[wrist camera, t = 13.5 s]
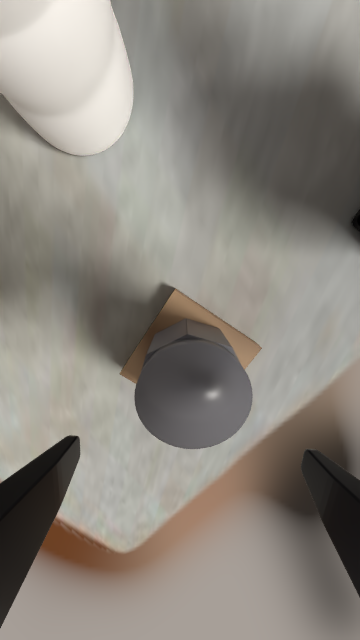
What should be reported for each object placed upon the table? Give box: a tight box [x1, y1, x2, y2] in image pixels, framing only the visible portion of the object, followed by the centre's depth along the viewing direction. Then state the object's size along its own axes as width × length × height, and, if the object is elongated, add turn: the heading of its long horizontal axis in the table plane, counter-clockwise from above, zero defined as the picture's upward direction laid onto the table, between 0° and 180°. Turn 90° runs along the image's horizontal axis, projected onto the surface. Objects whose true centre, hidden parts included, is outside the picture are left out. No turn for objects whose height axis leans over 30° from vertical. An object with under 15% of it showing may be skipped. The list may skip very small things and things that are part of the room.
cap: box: [135, 318, 252, 449], centre depth 14 cm, size 6×6×5 cm
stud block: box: [120, 289, 262, 384], centre depth 15 cm, size 8×8×5 cm
